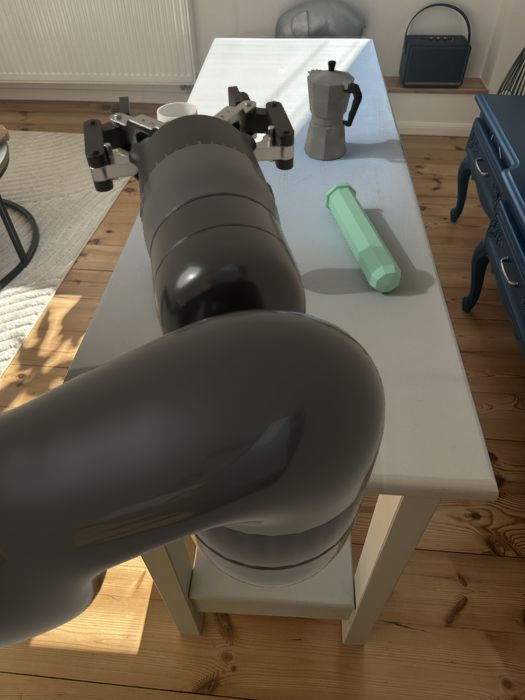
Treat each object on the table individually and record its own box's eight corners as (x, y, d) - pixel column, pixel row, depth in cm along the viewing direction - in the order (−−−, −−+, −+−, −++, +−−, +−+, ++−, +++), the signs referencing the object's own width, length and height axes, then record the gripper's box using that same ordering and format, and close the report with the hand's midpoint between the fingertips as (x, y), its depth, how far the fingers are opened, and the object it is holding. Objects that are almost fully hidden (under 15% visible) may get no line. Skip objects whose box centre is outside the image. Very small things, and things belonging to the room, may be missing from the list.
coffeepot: (289, 146, 109) (291, 56, 95) (321, 135, 112) (327, 47, 99) (335, 173, 100) (345, 78, 87) (368, 159, 104) (382, 67, 90)
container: (404, 263, 69) (350, 176, 86) (366, 280, 70) (320, 191, 87) (411, 289, 74) (358, 202, 90) (374, 305, 75) (329, 216, 91)
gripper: (99, 278, 30) (102, 159, 41) (320, 247, 32) (267, 141, 42) (60, 161, 24) (75, 59, 35) (330, 131, 26) (266, 43, 37)
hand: (180, 104), depth 39 cm, fingers open, 8 cm apart
